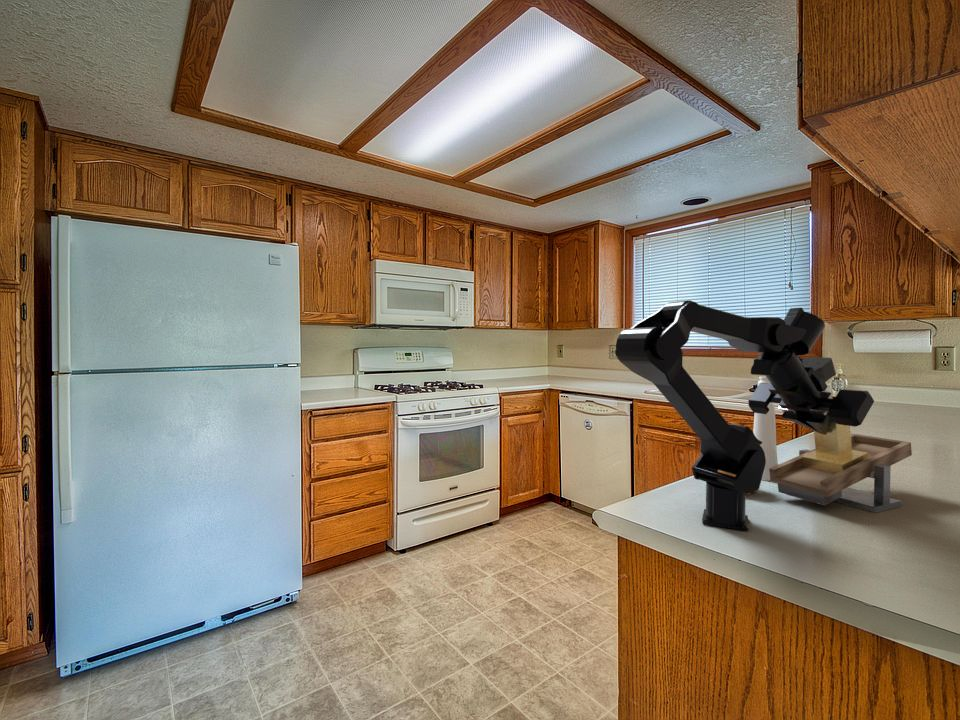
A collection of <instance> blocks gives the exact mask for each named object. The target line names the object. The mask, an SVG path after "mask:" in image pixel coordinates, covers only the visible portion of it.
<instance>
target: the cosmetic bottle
mask: <svg viewBox="0 0 960 720" xmlns="http://www.w3.org/2000/svg"><path fill="white" fill-rule="evenodd" d="M760 383H768V384H771V383H770V382H769V380H768V379H767V377H766V376H759V380H758V381H757V386H758V385H759V384H760ZM767 407H768V408H769V411H768V413H767V414H760V413H754V414H753V415H754V418H753V429H752V431H753V433H754V435H755V437H756V438H757V439H758V440H759V441H762V444H760V446H761V447H762V449H763V451H764V453H765V458H766V463H765V468H764V472H763V476H762V480H761V481H765V482H766V481H767V482H771V481H770V472H769V468H772V467H774V466H776V465H779V461H778V450H777V430H776V429H777V428H776V427H777V425H776V422H777V421H776V406H775V403H772V402H770V403H769V405H768V406H767Z"/></svg>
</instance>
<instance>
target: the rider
mask: <svg viewBox="0 0 960 720" xmlns="http://www.w3.org/2000/svg"><path fill="white" fill-rule="evenodd" d="M813 435H814V447H815V448H814V449H816V450H815V451H813V452H811V453H808V454H806V455H804V456H802V466H803V467H807V468H811V469H816V470H820V471H825V472H829V473H833V474H837V473H839V472H841V471H843V470H845V469H847V468H849V467H851V466H854V465H856V464H858V463H860V462H862V461H864V460H866V459H868V453H866V452H861V451H855V450H852V444H851V426H847V425H840V424H837V423H835V422H833V421H831V420H830V418H829V417H828V432H827V434H826V435H824V434H820V433H818V432H816V431H813Z"/></svg>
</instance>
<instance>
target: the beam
mask: <svg viewBox="0 0 960 720" xmlns="http://www.w3.org/2000/svg"><path fill="white" fill-rule="evenodd" d="M850 433H851V432H850ZM851 444H852V450H855V451H861V452H866V453H868V459H866V460H864V461H862V462H860V463H858V464H856V465H854V466H851V467H849V468H847V469H845V470H843V471H841V472H839V473H837V474H833V473H829V472H825V471H820V470H816V469H811V468H807V467H803V466H802V456H804V455H806V454H808V453H811V452H813V451H815V450H816V448H814V449H812V450H811V451H809V452H807V453H804V454H802V455H800V456H799V455H798V456H795V457H793V458H791V459H788V460H786V461H784V462H780V463H778V465H776V466H774V467H772V468H769V472H770V481H769V482H773V483H776V484H777V490H778V493H780V494H784V495H788V496H791V497H794V498H798V499H802V500H805V501H808V502H812V503H815V504H818V505H821V506H826V505H828V504H830V503H832V502H835V501H834V500H836V499H838V498H840V497H842V491H841V490H843V489H845V488H847V487H848V488H850V487H851V486H853V485H855V484H857V483H859V482H860V481H863V480H865V479H867V478H870V479H874V473H875V465H879V464H883V465H888V466H891V467H892V466H893V465H895V464H897V463H899V462H901V461H903V460H906V459H907V458H908V457H911V456H912V455H913V451H912V442H911V441H904V440H897V439H891V438H883V437H877V436H873V435H864V434H857V433H851Z"/></svg>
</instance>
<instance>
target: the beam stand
mask: <svg viewBox="0 0 960 720" xmlns="http://www.w3.org/2000/svg"><path fill="white" fill-rule="evenodd" d="M809 451H811V450H809V449H799V451H798V453H799V454H798V456H800V455H802V454H804V453H807V452H809ZM891 467H892V465H891V466H888V465H883V464H879V465H875V473H874V478H873V480H874V482H873V487H874V489H873V493H871V492H868V491H864V490H859V489H855V488H851V487H847V488H845V489H843V490H841V491H842V497H840V498H838V499H836V500H834V501H833V502H836V503H839V504H842V505H845V504H847V505H846V506H849V505H850V506H849V507H852V506H854V507H853V508H856V507H857V509H860V508H861V509H860V510H863V509H864V511H866V512H870V511H871V513H873V514H874V513H876V512H877V513H881V512H883V511H888V510H892V509H896V508H901V507H902V500H900V499H896V498H892V497H891V471H892V470H891V469H892V468H891ZM877 513H876V514H877Z"/></svg>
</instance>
